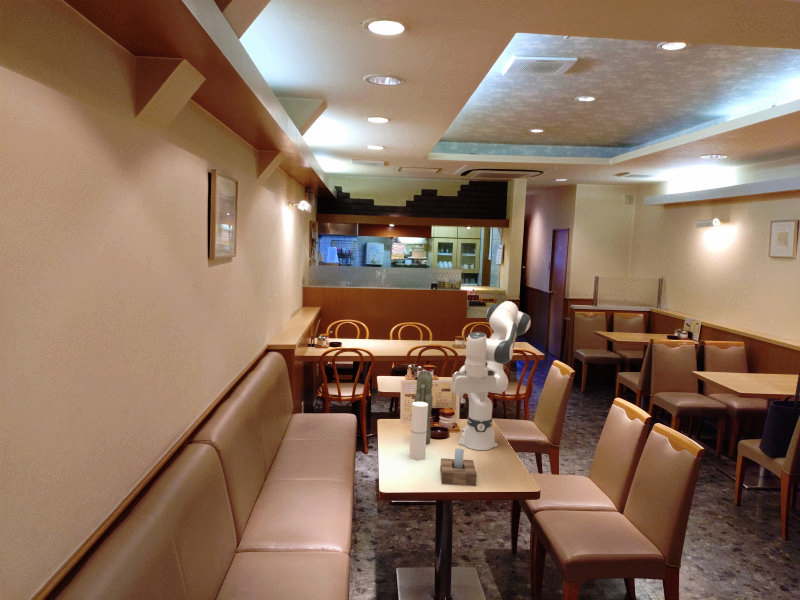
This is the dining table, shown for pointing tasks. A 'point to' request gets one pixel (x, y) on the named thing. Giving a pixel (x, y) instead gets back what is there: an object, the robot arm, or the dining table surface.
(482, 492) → the dining table surface
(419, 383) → the thermos
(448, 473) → the socket block
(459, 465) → the peg
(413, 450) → the cylindrical container
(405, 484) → the dining table surface
